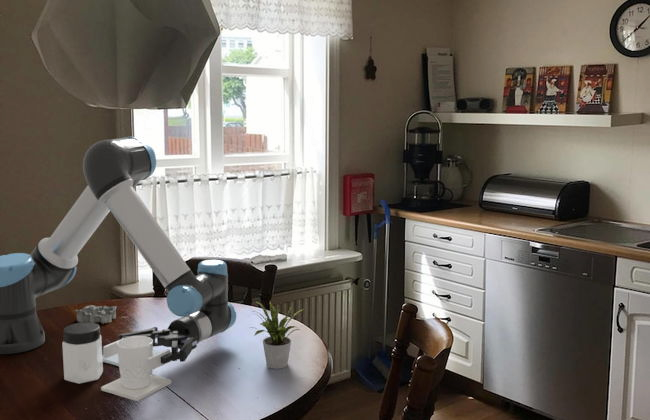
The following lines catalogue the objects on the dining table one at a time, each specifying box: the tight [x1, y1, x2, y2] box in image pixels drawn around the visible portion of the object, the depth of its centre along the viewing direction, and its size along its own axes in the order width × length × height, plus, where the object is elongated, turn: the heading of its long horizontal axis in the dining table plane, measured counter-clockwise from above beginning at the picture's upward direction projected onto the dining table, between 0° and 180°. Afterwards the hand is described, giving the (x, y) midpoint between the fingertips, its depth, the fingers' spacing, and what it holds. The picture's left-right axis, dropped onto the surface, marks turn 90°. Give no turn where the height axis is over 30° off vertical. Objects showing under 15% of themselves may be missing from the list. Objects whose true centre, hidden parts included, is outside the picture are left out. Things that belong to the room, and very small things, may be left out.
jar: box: [61, 322, 104, 384], centre depth 164 cm, size 9×8×12 cm
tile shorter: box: [100, 374, 172, 402], centre depth 160 cm, size 11×11×1 cm
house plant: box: [249, 300, 306, 370], centre depth 172 cm, size 14×14×16 cm
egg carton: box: [74, 304, 118, 325], centre depth 206 cm, size 11×8×4 cm
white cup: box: [117, 336, 154, 389], centre depth 159 cm, size 8×8×10 cm
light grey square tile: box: [102, 349, 162, 367], centre depth 177 cm, size 11×11×1 cm
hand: (125, 358), depth 156 cm, fingers open, 13 cm apart
